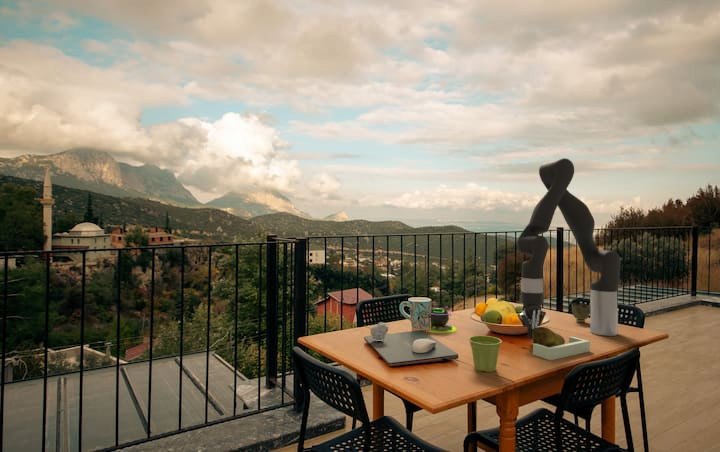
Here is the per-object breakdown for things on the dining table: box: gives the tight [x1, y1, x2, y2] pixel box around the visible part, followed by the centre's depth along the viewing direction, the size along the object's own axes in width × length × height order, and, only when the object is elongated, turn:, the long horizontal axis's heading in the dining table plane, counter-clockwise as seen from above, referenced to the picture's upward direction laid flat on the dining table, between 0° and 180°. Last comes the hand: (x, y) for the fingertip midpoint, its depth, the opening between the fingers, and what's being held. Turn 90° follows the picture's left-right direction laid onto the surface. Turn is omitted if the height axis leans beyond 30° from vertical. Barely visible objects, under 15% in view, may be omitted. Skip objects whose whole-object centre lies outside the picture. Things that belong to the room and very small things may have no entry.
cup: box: [571, 302, 590, 324], centre depth 181 cm, size 8×7×8 cm
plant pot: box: [468, 335, 503, 373], centre depth 121 cm, size 9×9×9 cm
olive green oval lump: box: [531, 326, 566, 347], centre depth 140 cm, size 8×13×8 cm, turn 97°
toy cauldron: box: [427, 301, 458, 334], centre depth 169 cm, size 15×15×11 cm
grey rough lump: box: [369, 321, 389, 340], centre depth 149 cm, size 6×7×7 cm
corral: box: [532, 336, 591, 361], centre depth 136 cm, size 20×6×4 cm, turn 118°
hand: (531, 338), depth 147 cm, fingers closed
